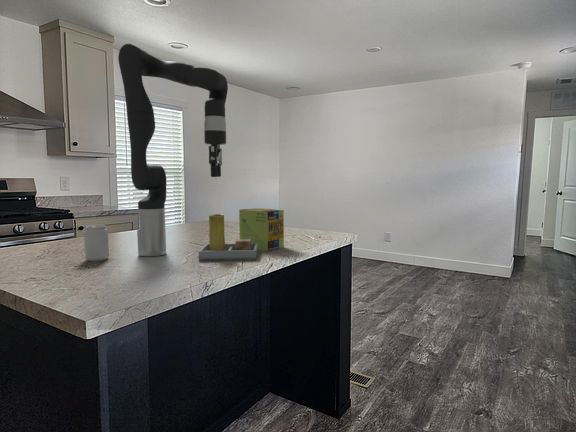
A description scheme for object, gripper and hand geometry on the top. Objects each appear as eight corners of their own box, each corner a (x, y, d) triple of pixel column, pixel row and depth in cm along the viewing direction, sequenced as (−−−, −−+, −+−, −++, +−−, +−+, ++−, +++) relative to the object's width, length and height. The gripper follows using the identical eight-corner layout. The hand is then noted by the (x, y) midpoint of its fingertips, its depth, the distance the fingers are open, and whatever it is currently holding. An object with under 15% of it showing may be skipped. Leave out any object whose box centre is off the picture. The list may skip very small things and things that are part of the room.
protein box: (268, 251, 150) (267, 211, 148) (239, 247, 159) (238, 209, 157) (284, 247, 158) (284, 209, 156) (256, 243, 167) (255, 207, 166)
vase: (227, 252, 144) (226, 214, 142) (223, 255, 138) (222, 215, 136) (211, 252, 144) (210, 214, 143) (206, 255, 138) (205, 215, 137)
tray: (198, 260, 134) (198, 251, 133) (206, 252, 148) (206, 243, 148) (255, 260, 134) (255, 250, 134) (257, 251, 149) (257, 243, 148)
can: (99, 262, 132) (97, 227, 131) (80, 261, 134) (78, 226, 133) (113, 257, 140) (112, 224, 138) (95, 257, 141) (93, 224, 140)
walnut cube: (235, 255, 139) (235, 241, 138) (237, 252, 144) (236, 239, 143) (249, 255, 139) (249, 241, 138) (250, 252, 144) (250, 239, 143)
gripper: (223, 128, 129) (224, 177, 131) (228, 132, 143) (229, 176, 145) (200, 128, 129) (201, 177, 131) (207, 132, 143) (208, 176, 145)
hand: (216, 176), depth 138 cm, fingers open, 8 cm apart
